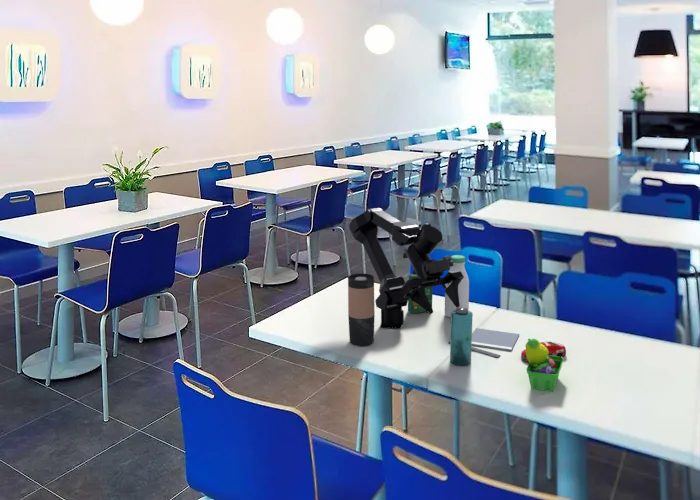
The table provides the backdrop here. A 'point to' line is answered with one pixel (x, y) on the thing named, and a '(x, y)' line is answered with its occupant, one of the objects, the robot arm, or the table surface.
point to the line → (484, 352)
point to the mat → (494, 339)
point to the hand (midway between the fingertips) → (445, 309)
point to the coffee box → (414, 306)
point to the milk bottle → (462, 287)
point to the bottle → (461, 337)
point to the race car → (553, 349)
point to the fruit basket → (542, 366)
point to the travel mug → (361, 309)
